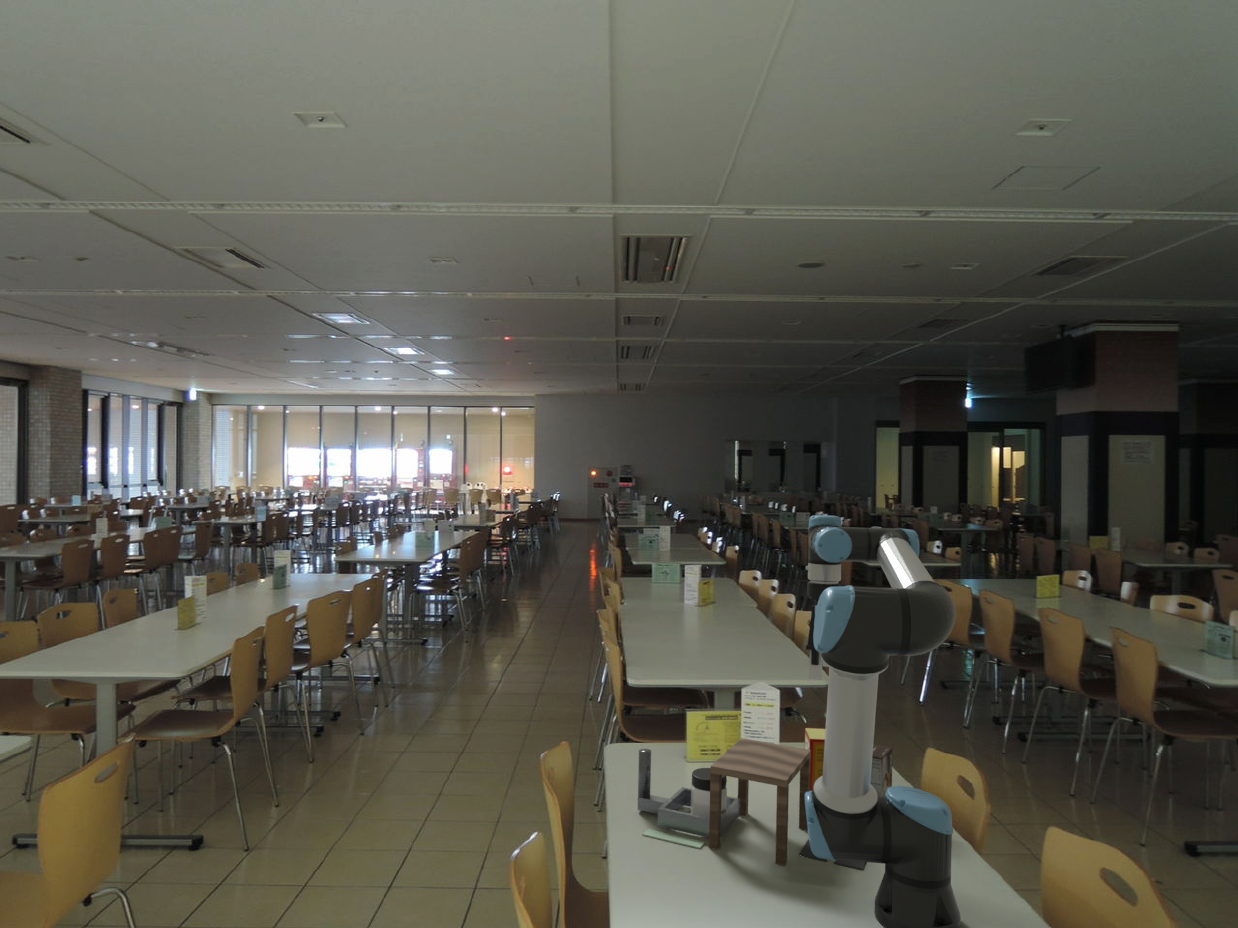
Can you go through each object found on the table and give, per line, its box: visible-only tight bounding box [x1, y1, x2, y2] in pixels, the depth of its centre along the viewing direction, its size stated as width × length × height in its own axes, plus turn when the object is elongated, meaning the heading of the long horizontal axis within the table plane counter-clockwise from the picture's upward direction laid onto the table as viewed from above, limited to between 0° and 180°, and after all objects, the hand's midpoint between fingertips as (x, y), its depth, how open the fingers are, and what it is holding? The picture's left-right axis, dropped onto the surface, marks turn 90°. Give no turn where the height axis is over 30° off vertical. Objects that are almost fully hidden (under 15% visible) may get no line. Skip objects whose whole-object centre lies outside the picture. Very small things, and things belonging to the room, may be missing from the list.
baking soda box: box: [804, 727, 826, 791], centre depth 214 cm, size 10×6×16 cm
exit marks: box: [641, 828, 706, 850], centre depth 196 cm, size 25×14×1 cm, turn 154°
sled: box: [637, 748, 740, 839], centre depth 197 cm, size 15×24×14 cm, turn 64°
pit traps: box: [798, 838, 867, 871], centre depth 181 cm, size 10×14×1 cm
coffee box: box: [870, 744, 894, 797], centre depth 201 cm, size 9×6×16 cm
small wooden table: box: [708, 737, 811, 866], centre depth 188 cm, size 22×17×18 cm
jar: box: [690, 767, 728, 818], centre depth 194 cm, size 9×8×12 cm
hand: (822, 672), depth 193 cm, fingers open, 13 cm apart
